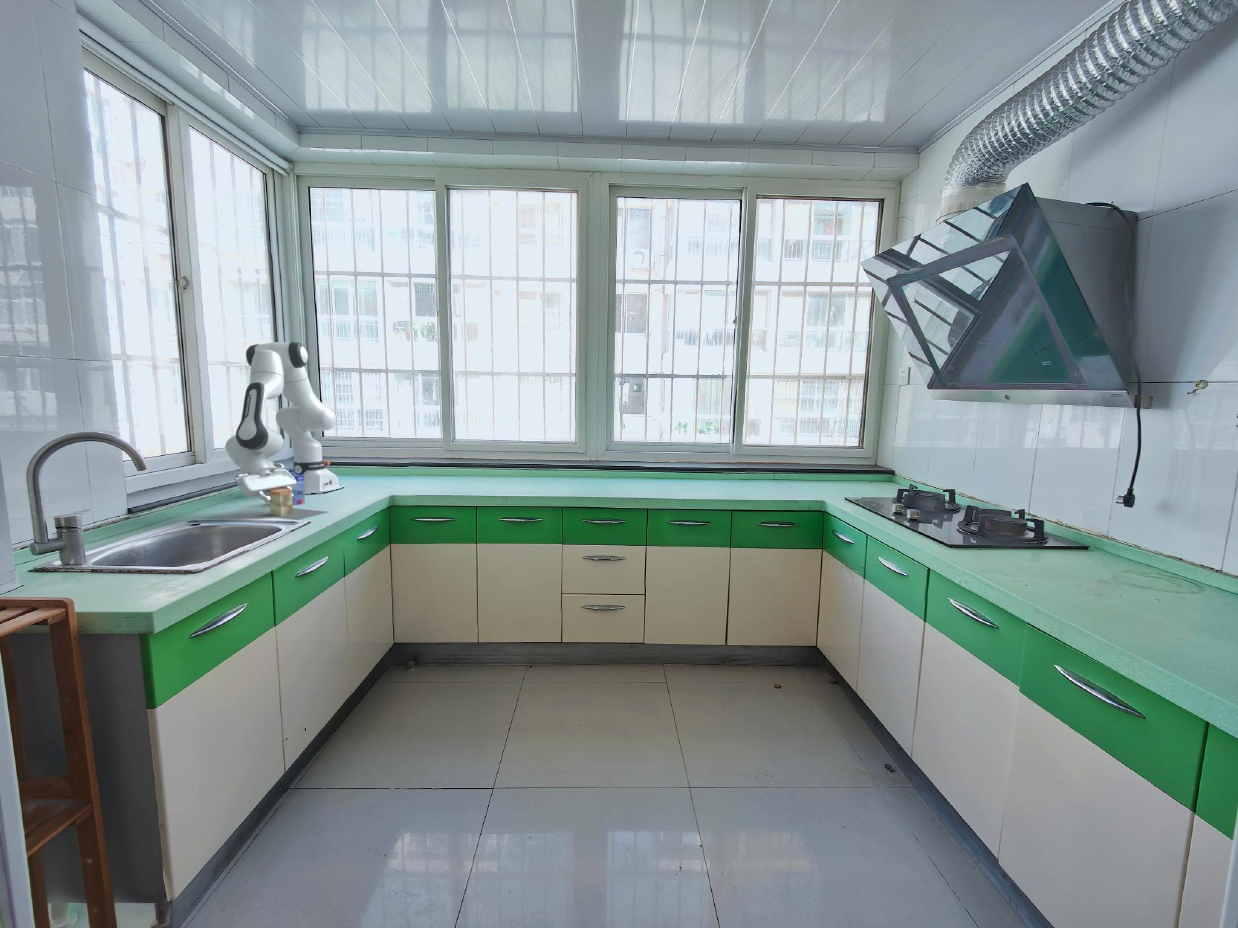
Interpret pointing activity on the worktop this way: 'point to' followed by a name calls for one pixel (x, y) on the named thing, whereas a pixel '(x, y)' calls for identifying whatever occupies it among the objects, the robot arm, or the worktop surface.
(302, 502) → the ink cartridge box
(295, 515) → the rubber mat
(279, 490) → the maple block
